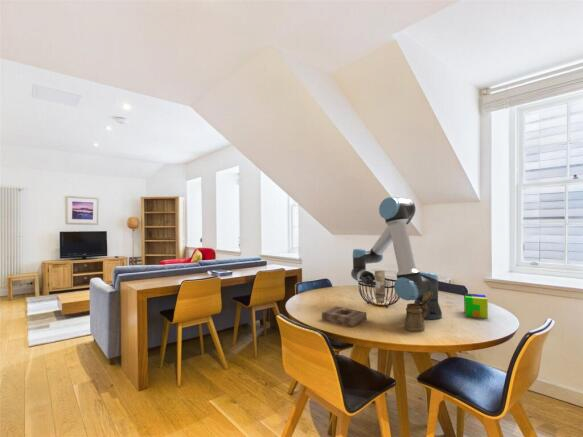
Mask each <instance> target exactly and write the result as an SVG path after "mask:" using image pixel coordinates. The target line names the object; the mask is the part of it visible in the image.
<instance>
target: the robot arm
mask: <svg viewBox="0 0 583 437" xmlns="http://www.w3.org/2000/svg"><path fill="white" fill-rule="evenodd" d="M378 213H379V215H380V217H381V218H383V219H384V221H385V225H386V226H387V227H386V228H385V229H384V230H383V231H382V233H381V234H380V236H379V238H378V239H377V240H376V241H375V243H374V245H373V246H372V248H371V249H370V250H368V251H366V249H365V248H354V249H353V250H352V269H351V272H350V276H351V278H352V279H354V280H355V281H357V282H359V283H361V284H363V285H367V286H370V287H373V286H374V287H375V286H376V287H378V288H380V282H378V281H376V280H375V273H373V272H371V271H369V270H367V269H366V265H368V264H376V263H380V262H382V261H383V259H384V253H385V252H386V251H387V249H388V248H389V246H390V245H392V244H393V245H392V246H393V249H394V255H395V259H396V264H397V270H398V271H397V272H396V275H395V276H396V280H395V281H394V284H393V286H394V287H393V288H394V292H395V293H396V295H397V296H398V297H399V298H400V299H401V300H404V301H413V304H418V305H419V303H422V299H423V296H424V295H425V294H426V293H427V292H429V291H431V290H432V291H433V295H432V298H431V299H430V300H429V301H428V302H427V303H426V304H427V307H428V312H427V314H426V316H425V318H424V320H439V319H442V318H443V311H442V308H441V306H440V302H439V276H438V274H437V273H434V272H427V271H420V270H418V269H417V268H416V263H415V260H414V255H413V249H412V246H411V240H410V235H409V230H408V227H407V225H409V223H410V222H411V221H412V219H413V218H414V216H415V214H416V205H415V203H414V202H413V200H411V199H410V198H408V197H396V196H391V197H389V196H388V197H386V198H383V199H382V201H381V202H380V204H379V207H378ZM385 287H388V288H391V281H390V279H389V278H386V277H385ZM421 309H422V313H423V312H424V309H423V308H421Z"/></svg>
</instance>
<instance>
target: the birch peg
mask: <svg viewBox="0 0 583 437" xmlns="http://www.w3.org/2000/svg"><path fill="white" fill-rule="evenodd" d="M385 275H386V274H385V271H384V270H374V276H375V280H376V281H378V282H380V288H378V287H376V286H374V295H375V296H374V297H375V300H376V301H375V302H376V304H384V303H385V297H386V286H385V278H386V276H385Z"/></svg>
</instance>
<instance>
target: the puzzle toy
mask: <svg viewBox="0 0 583 437" xmlns="http://www.w3.org/2000/svg"><path fill="white" fill-rule="evenodd" d="M463 303H464V304H463V307H464V308H463V309H464V311H463V312H464V314H465V316H466V317H470V316H471V317H472V318H480V317H481V318H482V319H488V318H489V317H488V316H489V314H488V312H489V310H488V308H489V307H488V305H489V304H488V297H487V296H486V295H485V294H475V293H463ZM481 318H480V319H481Z"/></svg>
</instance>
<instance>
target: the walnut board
mask: <svg viewBox="0 0 583 437" xmlns="http://www.w3.org/2000/svg"><path fill="white" fill-rule="evenodd" d="M367 314H368V313H367V312H366V311H362V310H361V311H360V310H356V309H350V308H345V307H341V306H334V307H332V308H329V309H326V310H323V311H322V312H321V321H324V322H329V323H333V324H336V325H340V326H346V327H350V328H355V327H357V326H358V325H361V324H363V323H364V322H366V321H368V320H367Z"/></svg>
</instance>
